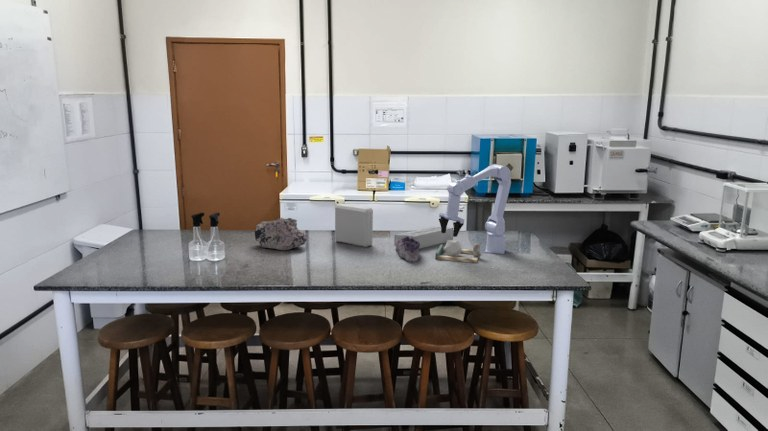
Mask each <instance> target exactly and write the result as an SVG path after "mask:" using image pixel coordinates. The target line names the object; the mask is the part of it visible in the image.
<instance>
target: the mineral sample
mask: <svg viewBox="0 0 768 431" xmlns="http://www.w3.org/2000/svg"><path fill="white" fill-rule="evenodd" d="M297 222H298V221H297V219H294V218H292V217H288V218H283V217H279V218H277V219H276V220H275V219H271V220H269V221H261V222H260V223H258V224H257V225H256V227H255V228H256V229H255V231H254V239H255V241H256V242H258V243H259V244H260V246H261V248H263V249H274V250H279V251H287V250H288V251H289V250H293V249H295V248H297V247H302V246H304V245H305V244H306V242H307V241H308V240H307V235H306V234H305V232H302V231H301V230H300V229H299V228H298V227H297V226H298V223H297Z"/></svg>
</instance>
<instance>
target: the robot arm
mask: <svg viewBox="0 0 768 431" xmlns="http://www.w3.org/2000/svg"><path fill="white" fill-rule="evenodd" d="M511 173H512V171H511V170H510V168H509V167H508V166H507V165H501V164H497V163H493V164H491V165H489V166H487V167H486V168H484V169H483V170H481V171H480V172H477V173H476V174H475V175H465V176H464V177H463V178H461V179H458V180H456V181H453V182H451V183H449V184H448V187H447V188H446V189H447V192H448V197H447V198H448V199H447V205H446V213H442V212H439V215H438V217H439V218H438V222H439V225H440V227H441V231H442V233H445V232H446V228H448V223H449V221H453V222H452V224H453V225H452V226H453V238H455V237H458V234H459V232H460V230H461V229H462V227H463V226H464V225H465V219H464V218H461V217H459V216H458V215H459V211H460V205H461V196H462V195H463V194H464V192H465V191H467V190H469V189H471V188H473V187H475V186H476V183H477V182H480V181H483V180H485V179H487V178H489V177H491V178H492V177H493V179H495V180H496V182H497V183H498V188H497V192H496V196H495V200H494V205H493V208H492V214H490V216H488V218H487V221H486V222H485V224H484V229H485V230H486V233H487V234H486V236H487V237H486V247H485V250H484V253H486V254H489V253H490V254H501V255H505V251H506V237H507V236H506V235H505V234H504V233H505V231H506V221H505V218H504V213H505V209H506V204H507V202H508V198H509V193H510V190H511V186H512V185H511V184H512V179H511Z"/></svg>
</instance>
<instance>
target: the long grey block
mask: <svg viewBox="0 0 768 431" xmlns="http://www.w3.org/2000/svg"><path fill="white" fill-rule="evenodd" d="M453 232H454V227H447V228H446V232H445V233H442V231H441V226H429V227H425V228H420V229H416V230H411V231H410V230H409V231H406V232H402V233H397V234H394V238H393V239H394V241H393V242H394V245H395V246H396V243H397V241H398V239H400V238H401V239H403V238H405V237H409V238H413V239H414V240H416V241H417V242H418V241H419V243H420V247H419V250H420V249H424V248H428V247H432V246H435V245H439V244H440V245H441V244H445V243H447V241H448V240H454V237H453Z"/></svg>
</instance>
